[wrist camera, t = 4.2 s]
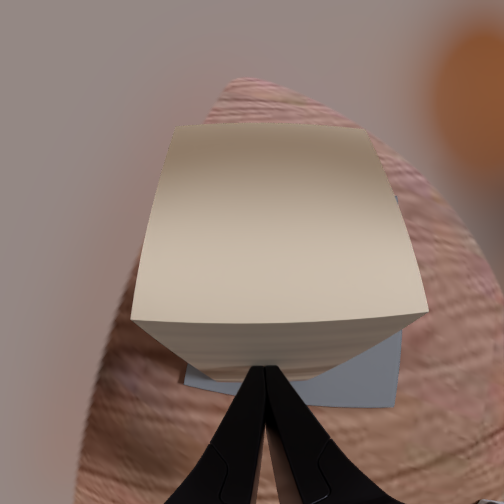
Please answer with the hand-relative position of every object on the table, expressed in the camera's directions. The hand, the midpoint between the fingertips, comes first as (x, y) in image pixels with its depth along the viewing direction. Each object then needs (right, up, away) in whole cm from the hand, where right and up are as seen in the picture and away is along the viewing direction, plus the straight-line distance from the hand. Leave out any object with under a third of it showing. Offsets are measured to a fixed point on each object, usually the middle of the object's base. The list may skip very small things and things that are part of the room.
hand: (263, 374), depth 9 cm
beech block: (0, -1, +7) cm, 7 cm away
